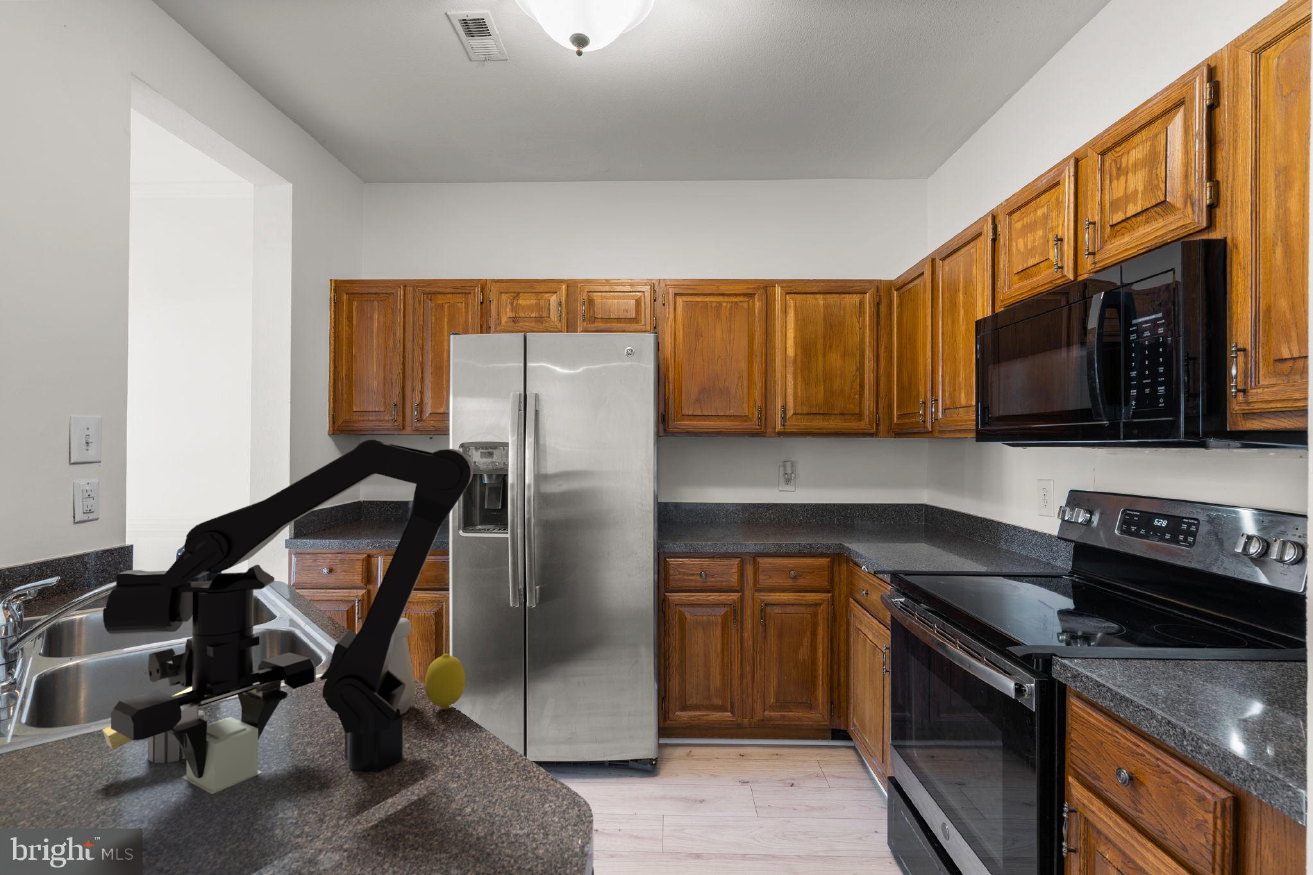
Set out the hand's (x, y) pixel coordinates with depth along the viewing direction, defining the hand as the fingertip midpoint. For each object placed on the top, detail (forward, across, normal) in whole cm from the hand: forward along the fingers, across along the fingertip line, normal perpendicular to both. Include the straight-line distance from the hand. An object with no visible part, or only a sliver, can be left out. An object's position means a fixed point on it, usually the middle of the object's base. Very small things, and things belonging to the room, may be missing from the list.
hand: (222, 767), depth 73 cm
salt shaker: (+2, -23, 0) cm, 23 cm away
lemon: (+2, -27, +6) cm, 28 cm away
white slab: (+2, 0, -6) cm, 6 cm away
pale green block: (+1, 0, 0) cm, 1 cm away
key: (+1, 0, -11) cm, 11 cm away
